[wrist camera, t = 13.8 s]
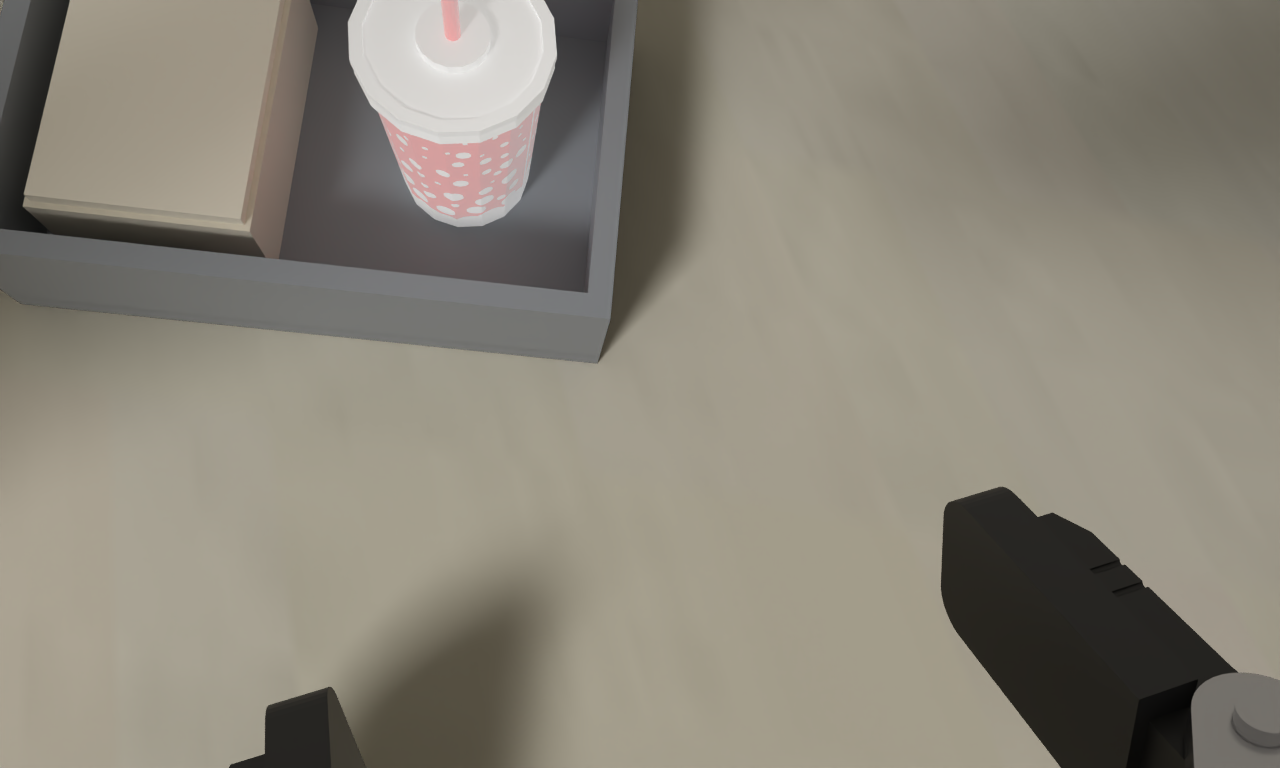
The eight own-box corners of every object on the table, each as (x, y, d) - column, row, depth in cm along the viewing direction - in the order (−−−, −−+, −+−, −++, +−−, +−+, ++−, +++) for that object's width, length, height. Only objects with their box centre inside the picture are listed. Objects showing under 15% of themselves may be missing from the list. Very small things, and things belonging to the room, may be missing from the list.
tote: (20, 303, 38) (-60, 247, 33) (98, -29, 41) (37, -129, 36) (597, 363, 40) (610, 319, 35) (625, 41, 43) (641, -45, 38)
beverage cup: (438, 68, 41) (400, -218, 27) (577, 145, 41) (608, -104, 27) (351, 195, 39) (265, -42, 26) (496, 276, 39) (486, 80, 26)
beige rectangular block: (72, 252, 38) (15, 199, 33) (128, 3, 40) (81, -76, 36) (276, 273, 38) (245, 225, 34) (318, 27, 41) (295, -47, 36)
